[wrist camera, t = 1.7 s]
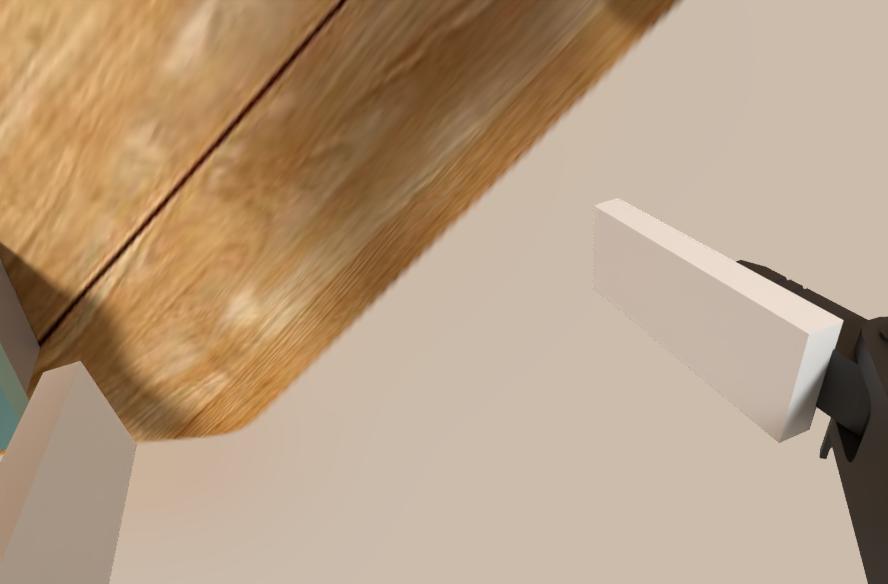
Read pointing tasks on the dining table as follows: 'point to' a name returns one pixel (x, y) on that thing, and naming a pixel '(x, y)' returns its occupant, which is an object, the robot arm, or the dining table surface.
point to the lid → (10, 400)
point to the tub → (16, 332)
